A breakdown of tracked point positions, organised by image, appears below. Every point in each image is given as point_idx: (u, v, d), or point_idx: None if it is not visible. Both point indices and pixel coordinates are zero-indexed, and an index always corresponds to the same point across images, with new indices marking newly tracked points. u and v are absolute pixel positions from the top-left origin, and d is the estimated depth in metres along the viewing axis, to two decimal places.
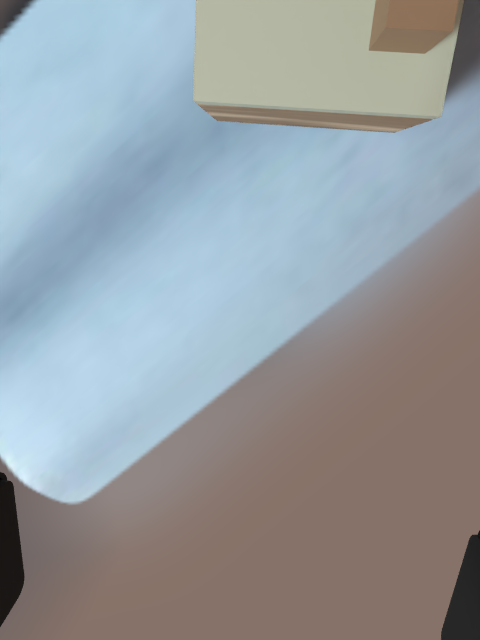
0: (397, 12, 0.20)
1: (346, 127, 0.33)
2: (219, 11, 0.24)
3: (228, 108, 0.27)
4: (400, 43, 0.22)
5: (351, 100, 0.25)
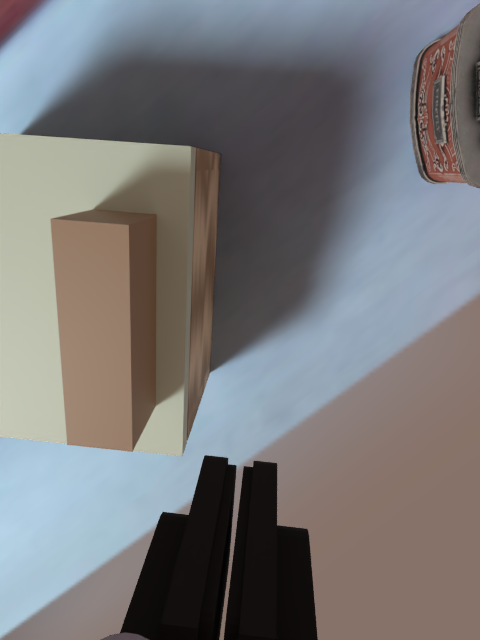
0: (75, 434, 0.20)
1: None
2: None
3: None
4: None
5: None
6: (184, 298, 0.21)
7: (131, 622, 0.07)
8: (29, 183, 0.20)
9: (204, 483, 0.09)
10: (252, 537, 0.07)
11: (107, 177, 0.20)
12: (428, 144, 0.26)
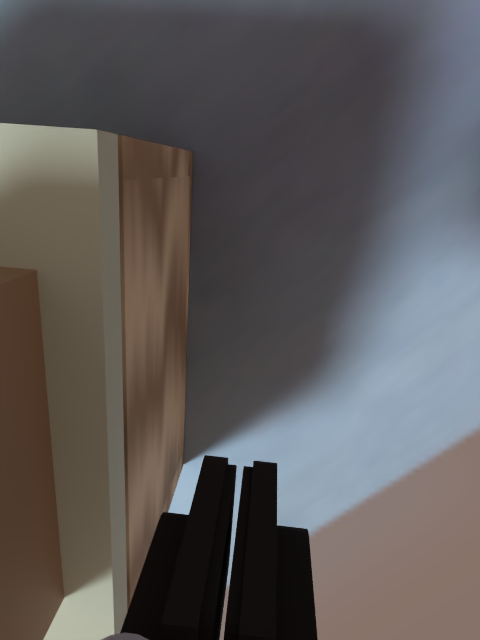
0: None
1: None
2: None
3: None
4: None
5: None
6: (103, 425, 0.11)
7: (131, 622, 0.07)
8: None
9: (204, 483, 0.09)
10: (252, 537, 0.07)
11: None
12: None
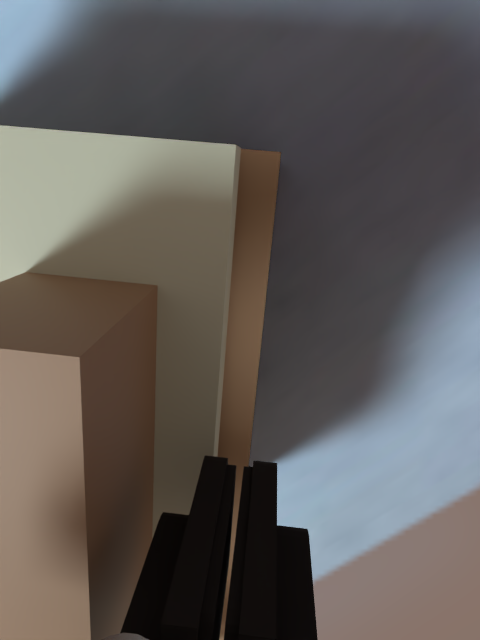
0: None
1: None
2: None
3: None
4: None
5: None
6: (210, 442, 0.11)
7: (131, 622, 0.07)
8: None
9: (204, 483, 0.09)
10: (252, 537, 0.07)
11: (53, 209, 0.09)
12: None
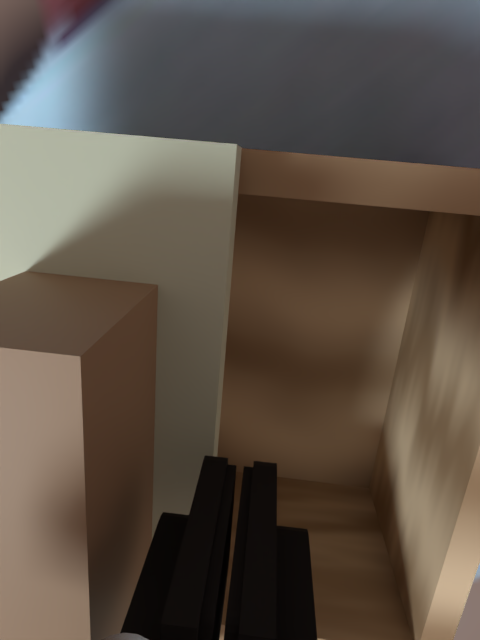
0: None
1: None
2: None
3: None
4: None
5: None
6: (210, 442, 0.11)
7: (131, 622, 0.07)
8: None
9: (204, 483, 0.09)
10: (252, 537, 0.07)
11: (54, 208, 0.09)
12: None
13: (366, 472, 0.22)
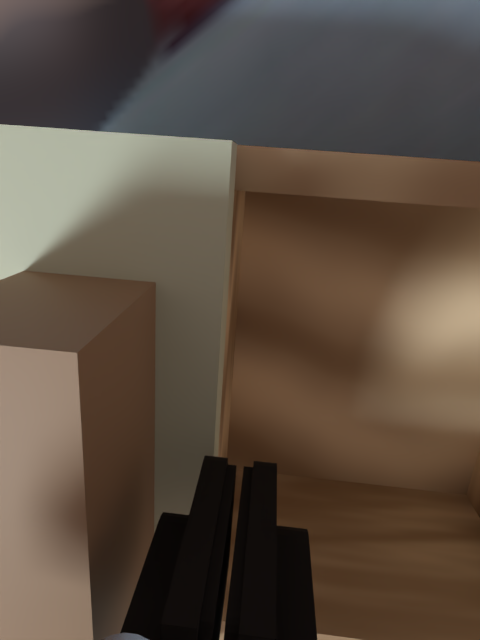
0: None
1: None
2: None
3: None
4: None
5: None
6: (210, 439, 0.11)
7: (131, 622, 0.07)
8: None
9: (204, 483, 0.09)
10: (252, 537, 0.07)
11: (51, 207, 0.09)
12: None
13: (464, 478, 0.21)
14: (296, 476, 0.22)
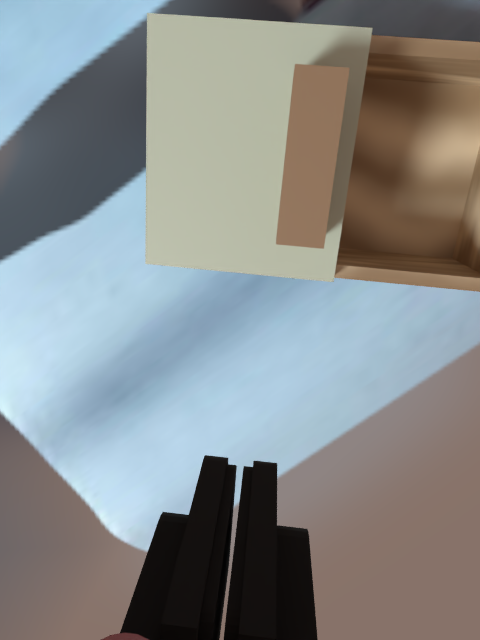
0: (283, 235, 0.27)
1: None
2: (163, 204, 0.31)
3: None
4: None
5: (265, 268, 0.32)
6: (352, 148, 0.29)
7: (131, 622, 0.07)
8: (248, 58, 0.28)
9: (204, 483, 0.09)
10: (252, 537, 0.07)
11: (307, 52, 0.28)
12: None
13: (451, 247, 0.40)
14: (359, 250, 0.41)
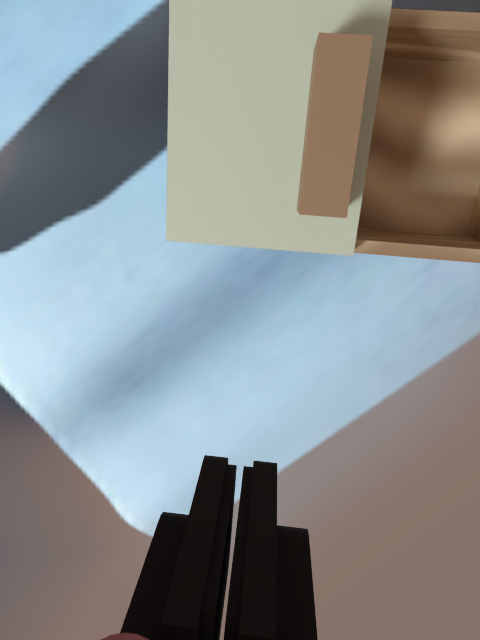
0: (307, 205, 0.28)
1: None
2: (184, 180, 0.32)
3: None
4: None
5: (285, 243, 0.32)
6: (372, 120, 0.29)
7: (131, 622, 0.07)
8: (269, 31, 0.28)
9: (204, 483, 0.09)
10: (252, 537, 0.07)
11: (327, 25, 0.28)
12: None
13: (466, 226, 0.40)
14: (374, 230, 0.41)
